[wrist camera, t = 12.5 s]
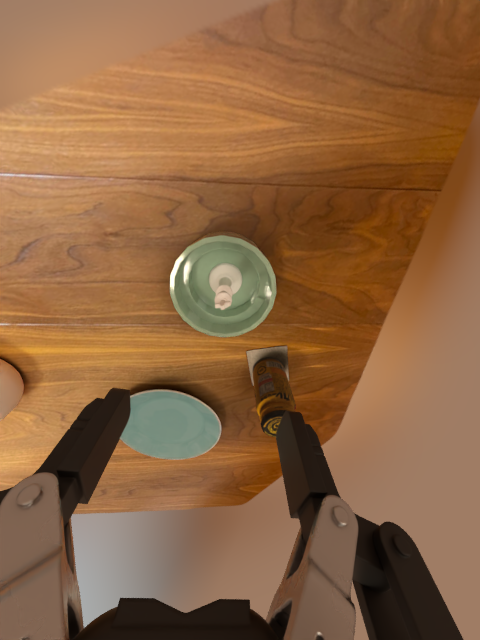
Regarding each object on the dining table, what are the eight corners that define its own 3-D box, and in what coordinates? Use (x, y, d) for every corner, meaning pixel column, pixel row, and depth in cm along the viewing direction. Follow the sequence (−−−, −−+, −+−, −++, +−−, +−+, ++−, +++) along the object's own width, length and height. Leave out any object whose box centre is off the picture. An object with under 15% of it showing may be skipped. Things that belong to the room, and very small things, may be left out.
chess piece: (244, 292, 32) (249, 323, 23) (213, 297, 32) (205, 331, 24) (239, 259, 30) (241, 281, 21) (205, 266, 30) (193, 290, 21)
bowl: (169, 238, 29) (154, 245, 24) (265, 224, 28) (272, 227, 23) (192, 322, 35) (185, 342, 30) (271, 311, 34) (278, 330, 29)
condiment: (252, 384, 42) (258, 444, 31) (246, 350, 38) (250, 405, 27) (288, 379, 42) (307, 438, 31) (286, 344, 38) (307, 398, 27)
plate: (137, 452, 51) (132, 464, 49) (100, 385, 41) (91, 396, 38) (228, 444, 51) (227, 456, 48) (213, 374, 40) (212, 385, 38)
